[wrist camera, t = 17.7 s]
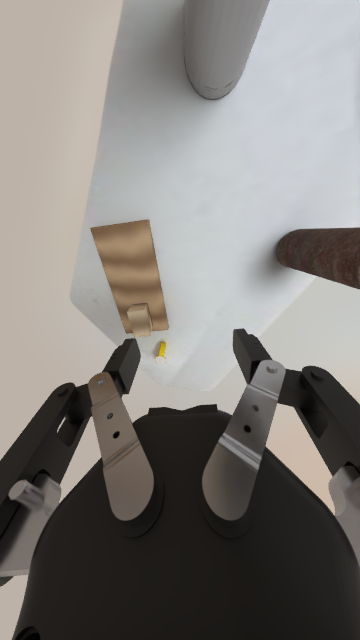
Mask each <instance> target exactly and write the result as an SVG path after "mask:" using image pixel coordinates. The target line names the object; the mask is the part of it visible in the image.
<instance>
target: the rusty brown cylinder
mask: <svg viewBox="0 0 360 640" xmlns="http://www.w3.org/2000/svg"><path fill="white" fill-rule="evenodd" d="M277 259H278V261H279V263H280V264H282V265H284V266H286V267H289V268H293V269H295V270H299V271H303V272H306V273H309V274H312V275H316V276H319V277H322V278H325V279H328V280H332V281H334V282H338V283H341V284H344V285H347V286H350V287H353V288H357V289H360V228H328V229H299V230H295V231H293V232H291V233H289V234H288V235H287V236H285V237H284V238H283V239H282V241H281V242H280V245H279V247H278V250H277Z"/></svg>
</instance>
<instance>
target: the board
mask: <svg viewBox="0 0 360 640" xmlns="http://www.w3.org/2000/svg"><path fill="white" fill-rule="evenodd" d="M90 229H91V232H92V234H93V237H94V240H95V243H96V246H97V249H98V252H99V255H100V258H101V261H102V264H103V267H104V270H105V273H106V275H107V278H108V281H109V284H110V287H111V290H112V293H113V296H114V299H115V302H116V305H117V308H118V311H119V314H120V317H121V319H122V322H123V325H124V328H125V331H126V334H127V333H133V331H132V327H131V324H130V321H129V318H128V314H127V311H128V310H129V308H130V307H131V305H132V304H141V303H148V307H149V311H150V315H151V319H152V324H153V328H152V331H159V330H168V328H169V326H168V320H167V315H166V309H165V304H164V299H163V293H162V288H161V282H160V277H159V271H158V266H157V260H156V255H155V250H154V244H153V239H152V233H151V228H150V222H149V220H141V221H134V222H128V223H121V224H114V225H108V226H101V227H94V228H90Z"/></svg>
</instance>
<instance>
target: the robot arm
mask: <svg viewBox="0 0 360 640" xmlns="http://www.w3.org/2000/svg"><path fill="white" fill-rule="evenodd" d="M269 1H270V0H184V58H185V66H186V71H187V74H188V77H189V80H190V82H191V84H192V85H193V87H194V89H195V90H196V91H197V92H198V93H199V94H200V95H202V96H203V97H205V98H208V99H218V98H221V97H223V96H225V95H226V94H227V93H229V92H230V91H231V90H232V89H233V88H234V87H235V85H236V84H237V82H238V80H239V79H240V77H241V75H242V72H243V70H244V68H245V65H246V62H247V60H248V57H249V54H250V52H251V49H252V46H253V44H254V41H255V39H256V36H257V33H258V30H259V28H260V25H261V22H262V20H263V17H264V14H265V11H266V9H267V6H268V3H269ZM233 351H234V354H235V356H236V359H237V361H238V363H239V366H240V368H241V371H242V373H243V375H244V378H245V380H246V382H247V386H246V388H245V391H244V393H243V395H242V397H241V399H240V401H239V403H238V405H237V407H236V409H235V412H234V413H233V415H230V414H228V413H226V412H223V411H220V410H218V409H217V404H213V405H200V406H196V407H193V408H189V409H186V410H183V411H181V410H176V409H171V408H166V407H161V408H149V412H148V414H147V415H144V416H142V417H140V418H139V419H137V420H136V421H135V422H133V423H132V421H131V419H130V417H129V415H128V413H127V410H126V408H125V406H124V403H123V402H122V399H121V398H122V395H123V394H129V391H130V388H131V385H132V383H133V380H134V377H135V374H136V371H137V368H138V365H139V362H140V358H141V355H140V350H139V347H138V344H137V341H136V339H135V338H132V339H125V341H124V343H123V344H122V345H121V346H119V347H118V348H117V349H115V351H114V353H113V354H112V356H111V358H110V359H109V361H108V363H107V364H106V366H105V368H104V370H103V371H102V373H99V374H97V375H95V376H94V377H92V378H91V379H90V381H89V383H88V384H85V385H82V386H79V387H76V386H75V385H74V383H65V384H63V385H61V386H59V387H58V388H56V389H55V390H54V391H53V392H52V393H51V395H50V396H49V397H48V399H47V400H46V401H45V403H44V404H43V405H42V407H41V408H40V409H39V410H38V412H37V413H36V414H35V416H34V417H33V418H32V420H31V421H30V422H29V424H28V425H27V426H26V428H25V429H24V430H23V432H22V433H21V434H20V436H19V437H18V438H17V440H16V441H15V442H14V443H13V445H12V446H11V448H10V449H9V450H8V451H7V453H6V454H5V455H4V457H3V458H2V459H1V461H0V586H3V585H4V584H6V583H7V582H8V581H9V580H10V579H11V578H13V576H17V575H27V574H29V575H28V581H27V587H26V592H25V596H24V601H23V605H22V608H21V612H20V615H19V619H18V622H17V625H16V629H15V632H14V635H13V638H12V640H360V404H359V403H358V402H357V401H356V400H355V399H354V398H353V397H352V396H351V395H350V394H349V393H348V392H347V391H346V390H345V388H344V387H342V386H341V384H340V383H339V382H338V381H337V380H336V379H335V378H334V377H333V376H332V375H331V374H330V373H329V372H327V371H326V370H324V369H322V368H319V367H316V366H306V367H304V368H303V369H302V372H301V371H295V370H289V369H285V368H284V366H283V365H282V364H280V363H279V362H277V361H274V360H272V358H271V357H270V355H269V354H268V353H267V351H266V350H265V348H264V347H263V345H262V344H261V343H260V341H259V340H258V338H257V337H255V336H254V335H252V334H247V332H246V331H245V329H234V331H233ZM277 403H280V404H284V405H288V406H292V407H294V408H295V410H296V412H297V414H298V415H299V417H300V419H301V421H302V423H303V424H304V426H305V428H306V430H307V432H308V433H309V435H310V437H311V439H312V440H313V442H314V444H315V446H316V448H317V449H318V451H319V453H320V455H321V456H322V458H323V460H324V462H325V464H326V465H327V467H328V469H329V471H330V472H331V474H332V476H333V477H332V479H331V480H330V482H329V491H330V495H331V497H332V500H333V502H334V506H335V516H334V515H333V513H332V512H331V511H330V510H329V508H328V507H327V506H326V505H325V503H324V502H323V501H322V500H321V499H320V498H319V497H318V496H317V495H316V494H315V493H313V492H312V491H311V490H310V489H309V488H308V487H307V486H306V485H305V484H304V483H303V482H302V481H301V480H300V479H299V478H298V477H297V476H296V475H295V474H294V473H293V472H292V471H291V470H289V468H287V467H286V466H285V465H284V464H283V463H282V462H281V461H280V460H279V459H278V458H277V457H276V456H275V455H274V454H273V453H272V452H271V451H270V450H269V449H268V448H266V446H265V445H266V441H267V438H268V434H269V431H270V427H271V423H272V420H273V416H274V413H275V409H276V405H277ZM91 416H93V420H94V425H95V429H96V433H97V438H98V442H99V447H100V451H101V456H102V457H101V458H100V460H98V462H97V463H96V464H95V465H94V466H93V467H92V468H91V469H90V470H89V471H88V473H87V474H86V475H85V476H84V477H83V478H82V479H81V480H80V481H79V483H78V484H77V485H76V486H75V487H74V488H73V489H72V490H71V491H70V492H69V494H68V495H67V496H66V497H65V498H64V499H63V500H62V501H61V503H59V500H60V497H61V487H60V483H61V481H62V479H63V477H64V474H65V472H66V470H67V468H68V466H69V463H70V461H71V459H72V456H73V454H74V452H75V450H76V448H77V446H78V443H79V441H80V438H81V437H82V434H83V432H84V430H85V428H86V425H87V423H88V421H89V419H90V417H91ZM64 417H65V418H66V419H65V421H64V422H63V424H62V426H61V428H60V429H59V431H58V433H57V429H58V427H59V425H60V424H61V422H62V420H63V419H64Z"/></svg>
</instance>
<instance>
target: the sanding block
mask: <svg viewBox="0 0 360 640" xmlns="http://www.w3.org/2000/svg"><path fill="white" fill-rule="evenodd" d="M127 314H128V318H129V321H130V324H131V327H132V331H133V334H134V337H141V336H150V334H151V331H152V328H153V324H152V319H151V315H150V311H149V307H148V303H141V304H132V305H131V307H130V308H129V310H128V311H127Z"/></svg>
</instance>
